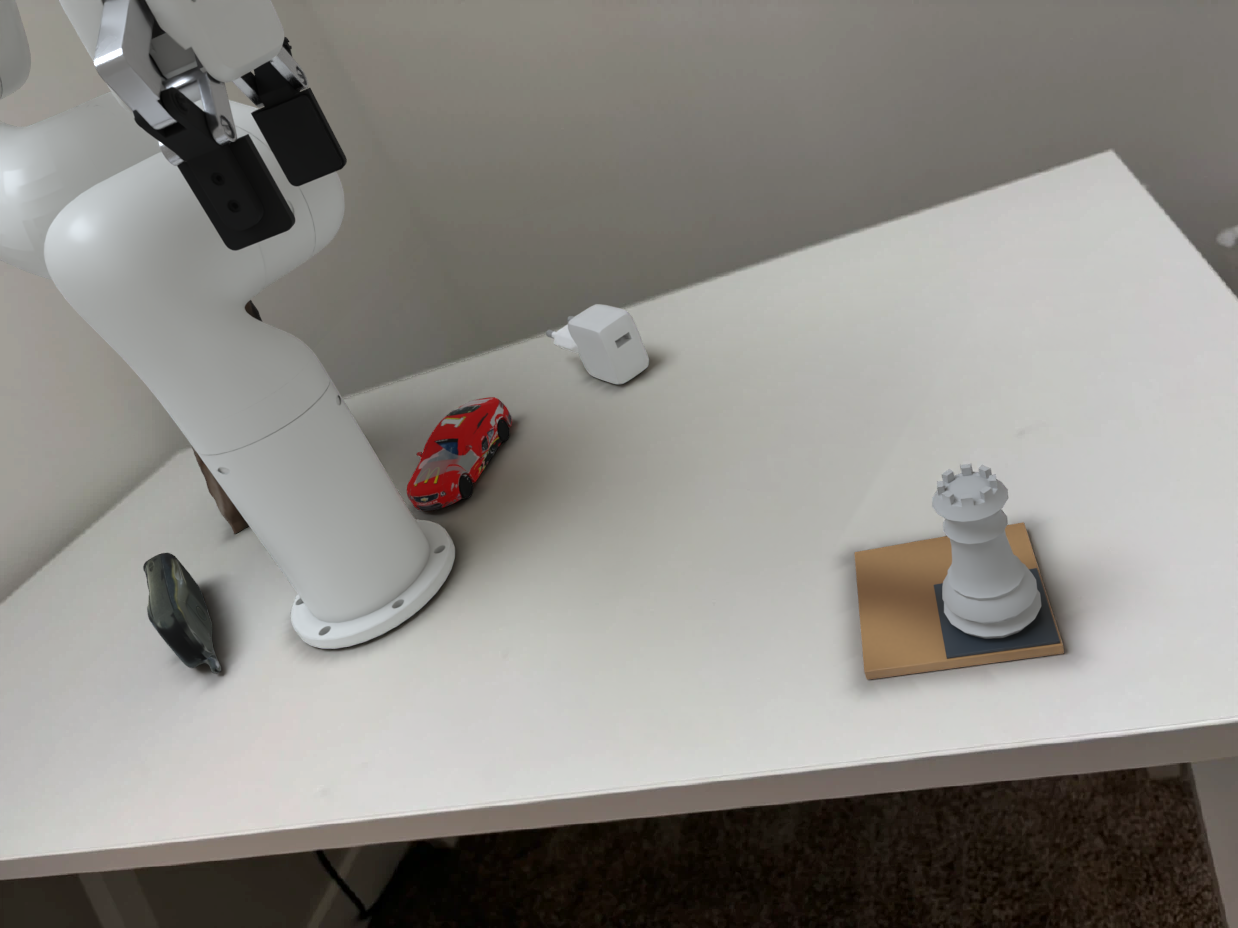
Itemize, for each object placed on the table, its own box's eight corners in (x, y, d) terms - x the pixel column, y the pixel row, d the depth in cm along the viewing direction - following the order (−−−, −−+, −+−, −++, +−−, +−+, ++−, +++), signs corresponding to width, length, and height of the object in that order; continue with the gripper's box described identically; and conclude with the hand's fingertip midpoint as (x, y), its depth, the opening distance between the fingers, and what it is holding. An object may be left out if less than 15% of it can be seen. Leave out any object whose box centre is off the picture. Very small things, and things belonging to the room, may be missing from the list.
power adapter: (552, 369, 90) (527, 315, 87) (591, 343, 92) (568, 289, 89) (617, 393, 81) (592, 333, 78) (659, 363, 83) (636, 304, 80)
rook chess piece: (927, 605, 48) (895, 481, 44) (1003, 565, 48) (978, 438, 44) (981, 658, 44) (951, 527, 40) (1064, 615, 44) (1043, 480, 40)
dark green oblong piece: (133, 562, 76) (150, 641, 64) (168, 541, 77) (191, 615, 65) (169, 607, 79) (193, 692, 66) (203, 586, 80) (232, 666, 67)
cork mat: (856, 559, 54) (853, 549, 53) (1025, 530, 51) (1023, 518, 50) (866, 680, 46) (863, 669, 46) (1064, 653, 44) (1062, 641, 43)
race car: (460, 516, 74) (437, 475, 72) (405, 521, 76) (381, 482, 74) (525, 418, 83) (506, 380, 81) (474, 425, 86) (455, 389, 84)
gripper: (85, -164, 44) (278, 181, 53) (-169, -180, 30) (155, 301, 38) (224, -232, 43) (399, 133, 52) (31, -285, 28) (320, 237, 37)
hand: (295, 204), depth 45 cm, fingers open, 9 cm apart
